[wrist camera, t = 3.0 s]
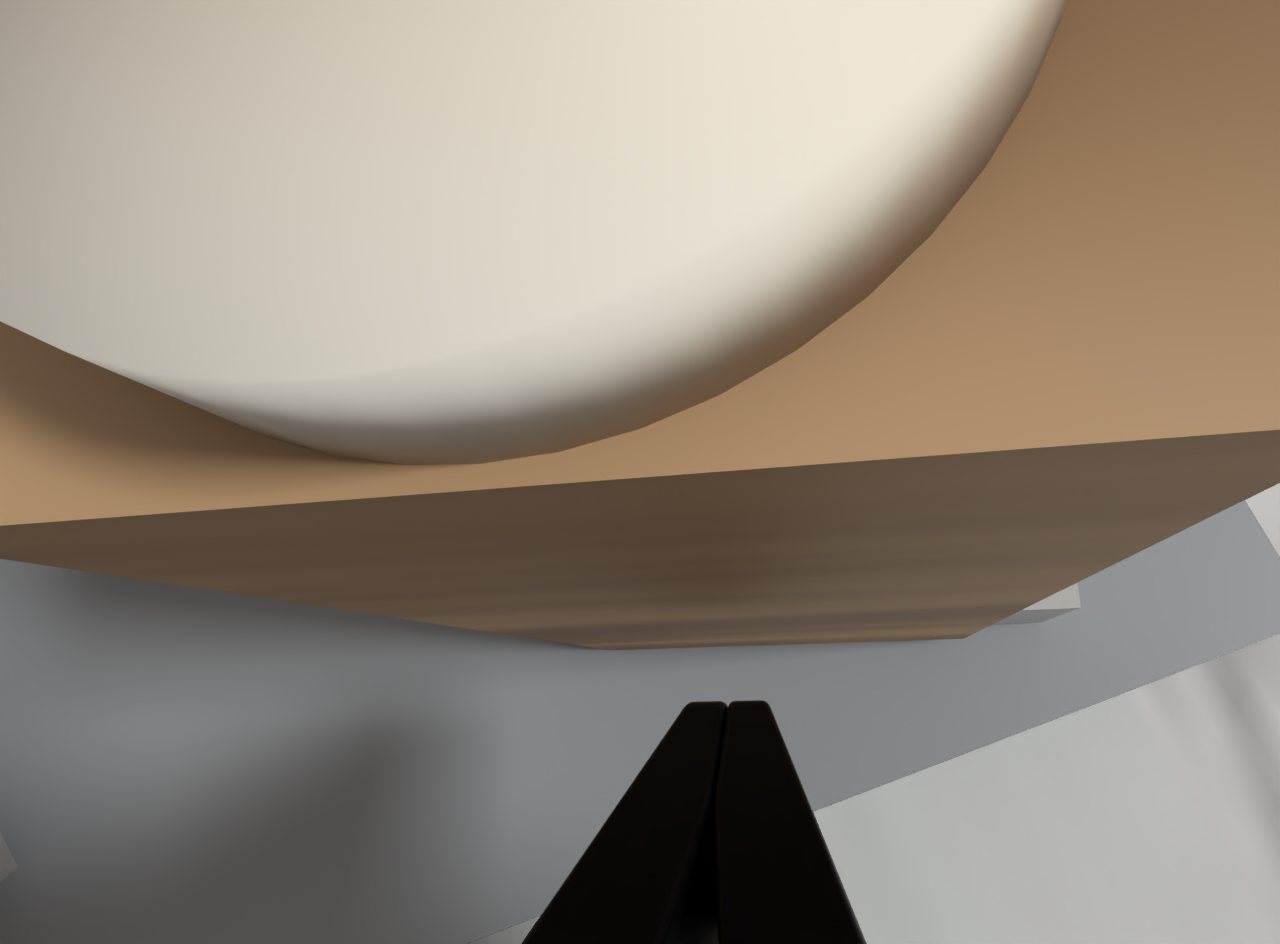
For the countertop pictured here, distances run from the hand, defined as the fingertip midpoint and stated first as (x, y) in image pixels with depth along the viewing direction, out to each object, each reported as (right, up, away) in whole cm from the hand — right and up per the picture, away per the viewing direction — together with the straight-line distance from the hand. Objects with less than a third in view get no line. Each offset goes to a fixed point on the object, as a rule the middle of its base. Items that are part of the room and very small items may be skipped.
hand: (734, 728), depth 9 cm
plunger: (+1, +2, +7) cm, 7 cm away
